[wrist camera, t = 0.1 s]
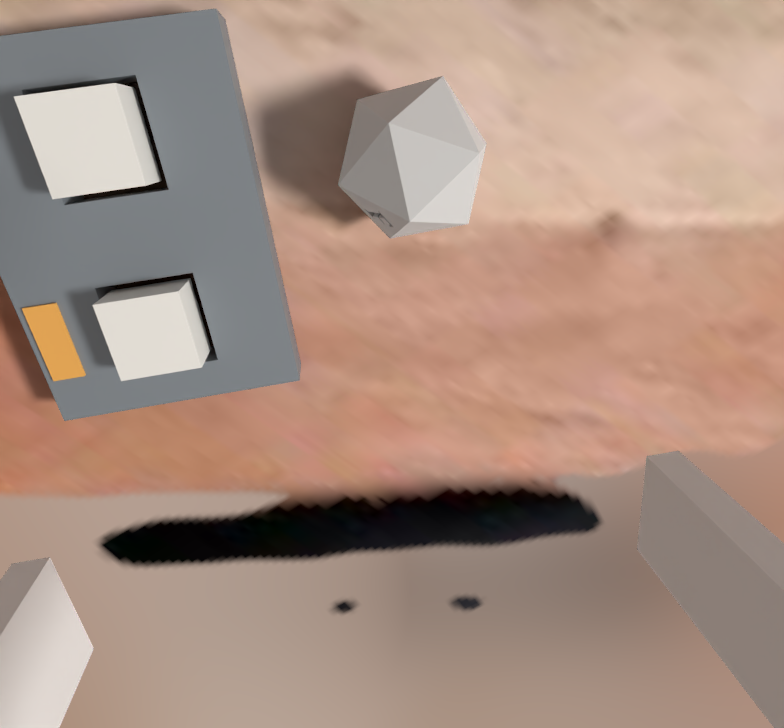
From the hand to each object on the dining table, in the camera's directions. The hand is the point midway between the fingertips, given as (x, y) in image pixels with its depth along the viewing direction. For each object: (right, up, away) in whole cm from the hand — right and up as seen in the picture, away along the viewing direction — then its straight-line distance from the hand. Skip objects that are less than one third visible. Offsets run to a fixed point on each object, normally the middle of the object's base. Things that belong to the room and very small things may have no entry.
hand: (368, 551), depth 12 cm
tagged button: (-15, +7, +23) cm, 28 cm away
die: (+1, +18, +23) cm, 29 cm away
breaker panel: (-16, +13, +23) cm, 30 cm away
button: (-16, +17, +19) cm, 30 cm away
